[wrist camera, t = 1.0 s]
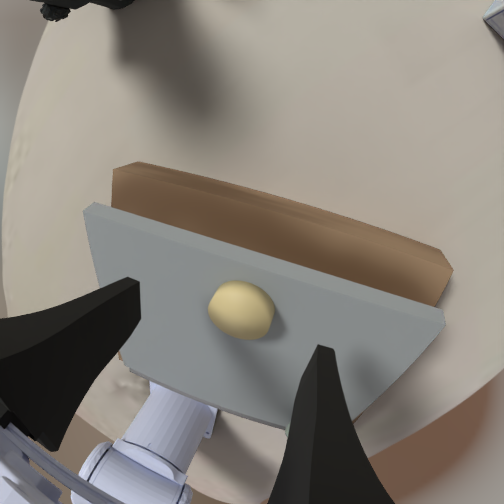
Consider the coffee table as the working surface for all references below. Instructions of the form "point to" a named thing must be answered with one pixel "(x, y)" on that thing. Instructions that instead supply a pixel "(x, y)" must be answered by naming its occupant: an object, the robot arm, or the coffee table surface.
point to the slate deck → (250, 319)
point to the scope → (74, 6)
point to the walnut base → (283, 230)
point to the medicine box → (496, 17)
